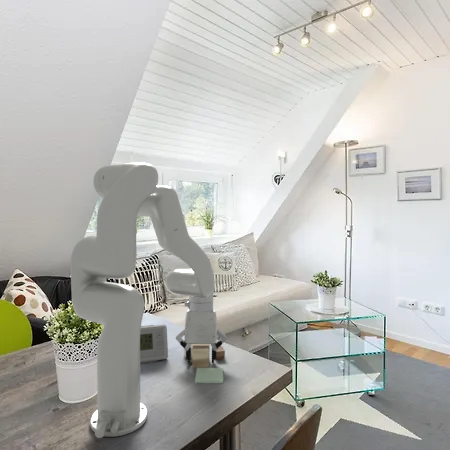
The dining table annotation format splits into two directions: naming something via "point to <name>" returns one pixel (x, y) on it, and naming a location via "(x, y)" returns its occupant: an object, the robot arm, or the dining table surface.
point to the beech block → (201, 356)
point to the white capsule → (191, 351)
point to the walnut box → (220, 353)
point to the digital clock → (153, 343)
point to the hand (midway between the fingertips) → (201, 361)
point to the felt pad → (209, 375)
